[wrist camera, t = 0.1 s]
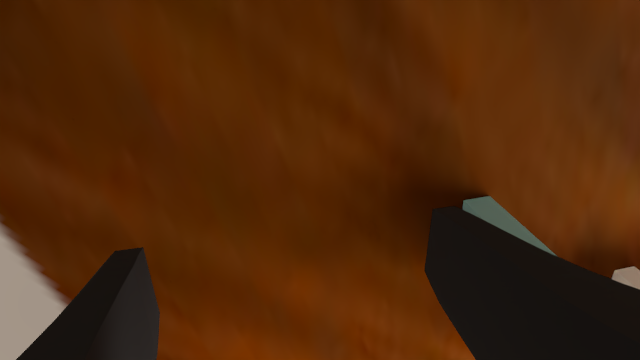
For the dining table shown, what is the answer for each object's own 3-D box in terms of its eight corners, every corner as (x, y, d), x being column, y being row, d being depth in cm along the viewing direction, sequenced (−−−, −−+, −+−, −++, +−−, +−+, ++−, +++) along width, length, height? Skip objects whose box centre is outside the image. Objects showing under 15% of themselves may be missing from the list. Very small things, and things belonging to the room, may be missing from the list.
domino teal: (477, 264, 27) (554, 355, 21) (454, 269, 27) (525, 362, 21) (489, 195, 25) (579, 276, 19) (463, 200, 24) (546, 283, 18)
